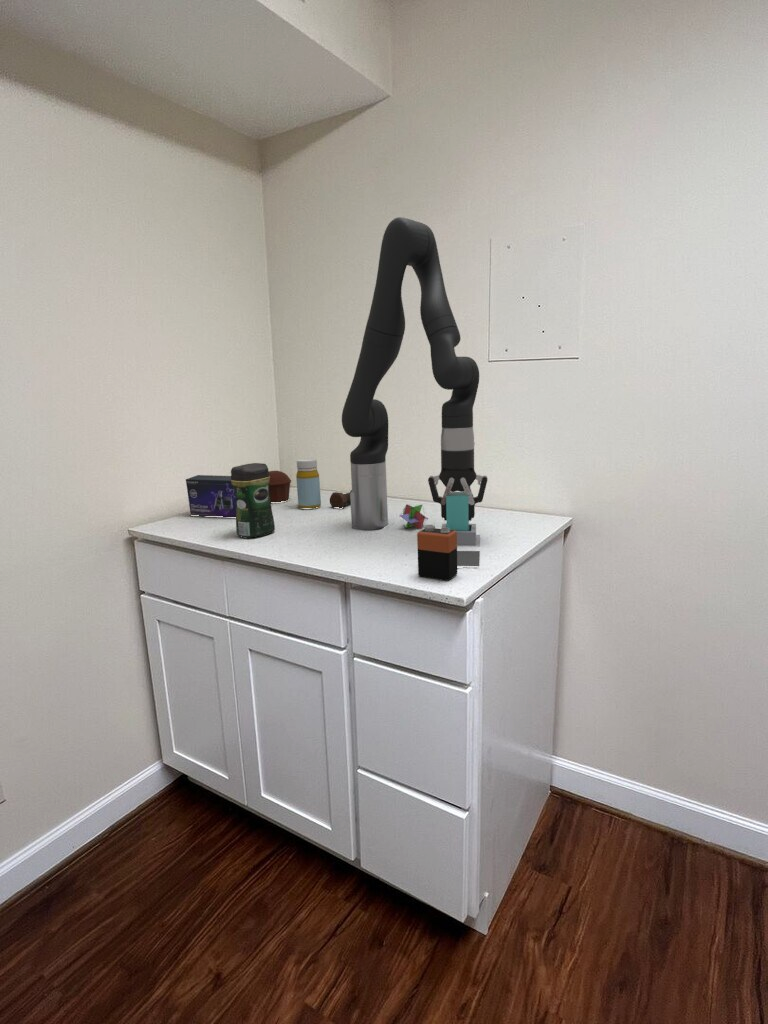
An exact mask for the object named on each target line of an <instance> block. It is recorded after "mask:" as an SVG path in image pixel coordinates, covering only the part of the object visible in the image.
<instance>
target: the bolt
mask: <svg viewBox="0 0 768 1024" xmlns="http://www.w3.org/2000/svg"><path fill="white" fill-rule="evenodd" d="M351 492H352V489H350V492H348V493H347V492H346V493H343V492H337V491H335V492H332V493H331V495H330V497H329V504H330V506H331V508H332V507H339V508H342V507H344V508H345V506H346V505H348V504H351V501H350V493H351Z"/></svg>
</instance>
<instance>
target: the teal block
mask: <svg viewBox="0 0 768 1024" xmlns="http://www.w3.org/2000/svg"><path fill="white" fill-rule="evenodd" d="M446 519H447V520H446V524H447V527H448V528H449V530H455V531H469V524H470V521H469V499H468V495H466V494H465V491H464V492H460V491H455V492H451V491H450V494H449V495H446Z"/></svg>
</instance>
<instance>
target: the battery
mask: <svg viewBox="0 0 768 1024" xmlns="http://www.w3.org/2000/svg"><path fill="white" fill-rule="evenodd" d="M416 541H417V545H416V546H417V575H418V576H419V577H421V578H428V579H433V578H434V579H436V580H440V579H442V580H441V581H447V580H448V581H450V580H451V579H452V577H453V578H455V576H457V575H458V568H457V567H458V566H457V551H458V546H457V532H456V531H455V530H449V528H448V527H443V528H436V526H435V524H426V525H423V528H422V529H420V531H418V532H417V533H416Z"/></svg>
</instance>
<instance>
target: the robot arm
mask: <svg viewBox="0 0 768 1024" xmlns="http://www.w3.org/2000/svg"><path fill="white" fill-rule="evenodd" d="M438 250H439V249H438V245H437V241H436V237H435V234H434V232H433V230H432V228H431V227H430V226H428V225H427V224H425V223H423V222H420V221H416V220H414V219H410V218H406V217H404V216H403V217H401V216H399V217H396V218H394V219H392V220H391V221H390V222H389V223H388V224H387V226H386V228H385V230H384V233H383V236H382V240H381V246H380V253H379V259H378V266H377V267H378V268H377V274H376V279H375V286H374V291H373V294H372V295H373V296H372V300H371V306H370V309H369V314H368V317H367V322H366V325H365V329H364V334H363V337H362V343H361V348H360V352H359V355H358V360H357V364H356V367H355V371H354V375H353V378H352V382H351V384H350V387H349V391H348V393H347V396H346V399H345V402H344V406H343V407H342V408H343V409H342V413H341V425H342V428H343V430H344V432H345V434H346V435H348V436H349V437H352V438H360V440H359V443H358V445H357V446H356V447H355V448H353V450H351V452H350V454H349V462H350V475H351V477H350V478H351V490H352V492H351V493H350V492H349V493H350V501H351V503H350V516H351V518H350V519H351V528H352V529H358V530H365V531H366V530H369V531H371V530H379V529H384V527H386V526H388V524H389V513H388V511H389V510H388V489H387V486H388V485H387V463H386V462H387V461H386V460H387V459H386V457H387V453H388V450H389V416H388V414H389V413H388V412H387V408H386V405H384V403H383V402H382V401H380V400H378V399H374V397H375V394H376V392H377V389H378V387H379V385H380V383H381V381H382V380H383V378H384V377H385V375H386V374H387V372H389V370H390V368H392V366H393V364H394V363H395V362H396V360H397V358H398V357H399V356H398V355H399V353H400V351H401V350H400V349H401V347H402V344H403V340H404V335H405V331H406V317H405V310H404V304H403V297H402V287H403V281H404V277H405V272H406V268H407V267H408V266H409V267H411V268H412V269H413V271H414V273H415V275H416V277H417V280H418V281H419V286H420V304H419V305H420V307H419V308H420V309H419V311H420V319H421V324H422V326H423V327H422V328H423V329H424V330H423V331H424V332H425V334H426V335H425V336H426V339H427V341H428V343H429V346H430V347H429V348H430V359H431V370H432V375H433V378H434V380H435V382H436V383H437V384H438V386H439V387H440V388H441V389H444V390H448V391H449V390H452V391H451V396H450V398H449V400H447V401H445V402H443V403H442V406H441V434H440V473H439V474H437V475H429V477H428V478H427V483H428V485H429V491H430V494H431V498H432V501H433V502H434V503H438V504H439V505H440V512H441V513H440V517H441V518H442V519H443V520H444V521H447V519H446V495H449V494H450V492H465V494H466V495H468V499H469V522H471V521H472V520H473V519H474V518H475V512H476V511H475V508H476V507H475V506H476V504H478V503H482V502H483V501H484V500H483V499H484V496H485V492H486V487H487V483H488V476H487V475H481V474H477V472H476V471H475V433H474V404H475V402H476V397H477V393H478V389H479V385H480V384H479V383H480V369H479V366H478V364H477V362H476V361H475V360H474V359H473V358H472V357H469V356H457V355H456V350H455V349H456V347H457V346H458V345H459V344H460V342H461V333H460V330H459V328H458V324H457V321H456V319H455V316H454V314H453V311H452V308H451V304H450V302H449V298H448V295H447V291H446V286H445V282H444V277H443V272H442V266H441V262H440V256H439V251H438ZM475 480H477V485H478V486H479V490H478V492H477V496H474V495H473V491H472V488H471V486H472V485H473V483H474V482H475ZM439 481H440V482H441V483H442V484H443V486H444V487H445V489H444V492H443V495H442V496H439V492H438V488H437V485H438V484H439Z"/></svg>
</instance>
